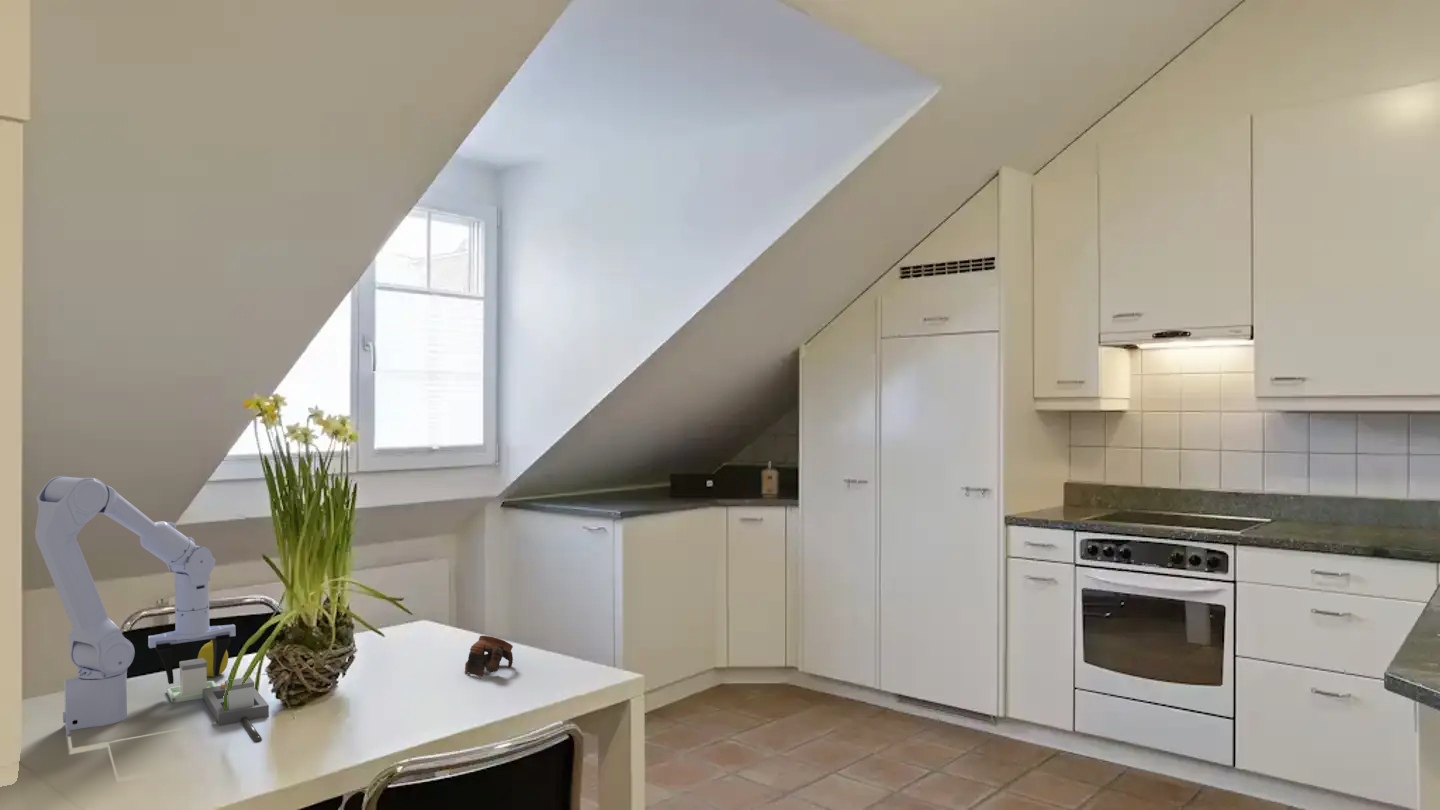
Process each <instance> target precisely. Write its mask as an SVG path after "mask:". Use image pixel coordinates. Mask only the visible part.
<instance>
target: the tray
mask: <svg viewBox="0 0 1440 810" xmlns="http://www.w3.org/2000/svg"><path fill="white" fill-rule="evenodd" d="M216 686H218V685H217V684H216V682H215V680H207V688H210V687H216ZM166 694H167V695H168V698H169V699H170V701H171V703H172V704H175V703H180V702H187V701H192V700H198V699H203V693H198V694H192V695H186V696H182V695H181V693H180V685H177V686H171V687H167V688H166Z"/></svg>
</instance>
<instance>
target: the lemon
mask: <svg viewBox="0 0 1440 810" xmlns="http://www.w3.org/2000/svg"><path fill="white" fill-rule="evenodd" d="M200 658H204V660H205V661H206V662H207V667H206V668H207V677H208V678H215V676H214V675H213V641H212V639H210V641H209V642H207V643H204V644H203V646H202V647H201V648H200V650H199V652H198V654H197V659H200ZM228 663H229V652H228V649H227V650H226V652H225V654H224V657H223V659H222V663H221V666H220V671H219V676H220V675H221V674H222V673H224V671H225V670H226V669H227V666H228Z"/></svg>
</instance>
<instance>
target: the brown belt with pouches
mask: <svg viewBox="0 0 1440 810" xmlns="http://www.w3.org/2000/svg"><path fill="white" fill-rule="evenodd" d="M513 647H514V646H513V644H511V643H510V642H508V641H505V640H503V639H501V638H497V637H494V636H489V635H479V638H478V641H475V643H473V644H472V645H471V647H470V649H469V650H470V651H469V653H468V659H467V661H466V662H465V667H464V673H465V672H466V674H468V673H469V674H471V675H474V676H479V677H483V676H484V674H485V673H484V672H485V670H487V672H489V673H494V672H495V673H496V672H498V669H499V667H500V662H501V661H502V658H503V659H505V660H507V661H508V665H507V666H509V667H508V668H511V667H512V665H513V663H514V658H513V657H514V656H513V652H512V651H513V650H512V649H513Z"/></svg>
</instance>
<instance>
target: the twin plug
mask: <svg viewBox="0 0 1440 810" xmlns="http://www.w3.org/2000/svg"><path fill="white" fill-rule="evenodd" d="M248 677H249V678H248V679H247V680H246V681H245V683H244V684H243V686H242V687H241V685H242V682H243V680H244V678H245V677H239V678H235V679H234V681H233V686H232V688H231V689H230V690H229V691H228V695H227V710H233V709H238V708H244V707H249V706H254V688H255V681H254V680H253V679H252V677H251V676H248ZM229 680H230V679H227V680H224V683H225V693H226V690H227V688H228V683H229Z"/></svg>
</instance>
